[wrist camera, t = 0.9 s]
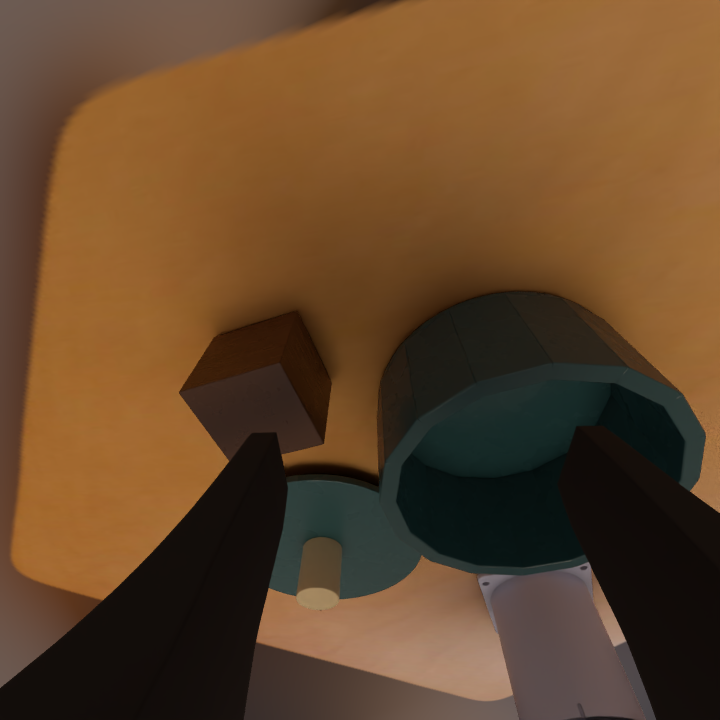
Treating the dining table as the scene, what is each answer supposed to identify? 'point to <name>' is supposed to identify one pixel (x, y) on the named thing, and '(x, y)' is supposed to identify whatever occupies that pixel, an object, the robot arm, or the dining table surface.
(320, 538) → the cover
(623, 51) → the dining table surface
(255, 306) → the dining table surface
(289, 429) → the block
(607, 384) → the container
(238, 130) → the dining table surface
